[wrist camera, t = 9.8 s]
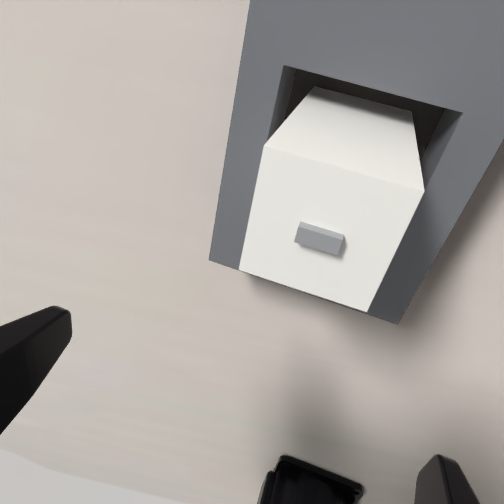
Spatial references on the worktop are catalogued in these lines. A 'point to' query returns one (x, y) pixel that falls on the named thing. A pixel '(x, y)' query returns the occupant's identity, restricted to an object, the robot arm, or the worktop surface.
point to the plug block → (334, 197)
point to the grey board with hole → (380, 78)
